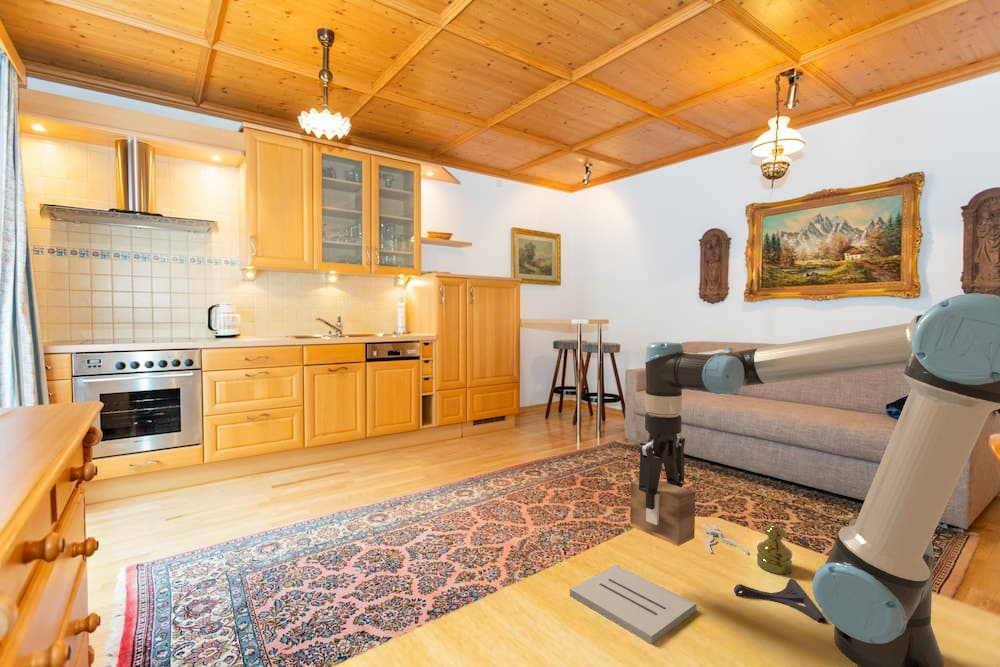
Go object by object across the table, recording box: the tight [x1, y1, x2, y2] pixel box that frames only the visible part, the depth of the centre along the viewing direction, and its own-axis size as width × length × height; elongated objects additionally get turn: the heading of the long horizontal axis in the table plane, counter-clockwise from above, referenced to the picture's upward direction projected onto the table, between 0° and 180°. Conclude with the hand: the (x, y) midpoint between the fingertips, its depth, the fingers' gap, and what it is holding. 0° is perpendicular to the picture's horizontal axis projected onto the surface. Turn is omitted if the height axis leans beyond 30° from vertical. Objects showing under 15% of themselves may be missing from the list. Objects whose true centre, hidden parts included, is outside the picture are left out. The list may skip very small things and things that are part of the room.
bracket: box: [733, 578, 827, 624], centre depth 103 cm, size 14×15×3 cm
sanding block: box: [629, 479, 696, 547], centre depth 105 cm, size 12×6×10 cm, turn 37°
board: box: [569, 564, 697, 645], centre depth 101 cm, size 20×16×2 cm
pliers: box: [701, 523, 750, 555], centre depth 130 cm, size 10×2×15 cm
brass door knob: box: [756, 524, 793, 575], centre depth 116 cm, size 7×7×10 cm
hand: (661, 518), depth 105 cm, fingers closed on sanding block, 6 cm apart
